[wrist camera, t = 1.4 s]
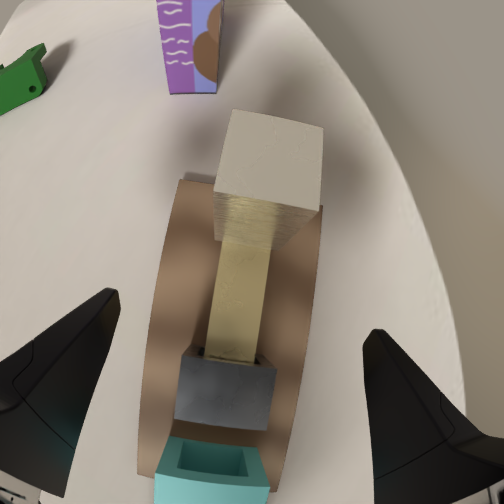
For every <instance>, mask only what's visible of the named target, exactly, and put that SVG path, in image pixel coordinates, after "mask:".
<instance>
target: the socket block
mask: <svg viewBox="0 0 504 504" xmlns="http://www.w3.org/2000/svg"><path fill="white" fill-rule="evenodd" d="M269 490H270V485H269V482H268V479H267V476H266V473H265V470H264V467H263V464H262V461H261V458H260V455H259V452H258V449H257V447H244V446H233V445H224V444H216V443H208V442H202V441H195V440H189V439H184V438H178V437H173V436H169V437H168V440H167V442H166V445H165V448H164V450H163V453H162V456H161V458H160V461H159V464H158V466H157V469H156V472H155V486H154V504H266V502H267V498H268V494H269Z"/></svg>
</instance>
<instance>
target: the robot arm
mask: <svg viewBox="0 0 504 504" xmlns="http://www.w3.org/2000/svg"><path fill="white" fill-rule="evenodd" d="M120 310H121V307H120V300H119V294H118V291H117V290H116V289H112V288H105V289H103V290H102V291H100V292H99V293H97V294H96V295H94V296H93V297H91V298H90V299H88V300H87V301H85V302H84V303H83V304H81V305H80V306H78V307H77V308H75V309H74V310H73V311H71V312H70V313H68V314H67V315H65V316H64V317H63V318H61V319H60V320H58V321H57V322H56V323H54V324H53V325H52V326H50V327H49V328H47V329H46V330H45V331H43V332H42V333H41V334H39V335H38V336H37V337H35V338H34V339H33V340H31V341H30V342H28V343H27V344H26V345H24V346H23V347H22V348H20V349H19V350H17V351H16V352H15V353H13V354H12V355H10V356H9V357H7V358H5V359H4V360H2V361H1V362H0V504H41V503H40V501H39V498H40V493H41V490H43V491H45V492H48V493H51V494H53V495H56V496H58V497H61V498H64V495H65V490H66V486H67V481H68V477H69V473H70V469H71V465H72V461H73V458H74V454H75V450H76V446H77V443H78V439H79V436H80V433H81V429H82V426H83V423H84V420H85V417H86V414H87V411H88V408H89V405H90V402H91V399H92V396H93V393H94V390H95V387H96V385H97V382H98V379H99V376H100V374H101V371H102V368H103V366H104V363H105V361H106V358H107V355H108V353H109V350H110V346H111V343H112V339H113V336H114V332H115V328H116V325H117V322H118V318H119V315H120ZM363 367H364V385H365V393H366V401H367V409H368V417H369V427H370V437H371V448H372V461H373V477H374V504H504V438H498V437H492V436H488V435H486V434H484V433H482V432H481V431H479V430H478V429H477V428H476V427H475V426H474V425H473V424H472V423H471V422H470V421H469V420H468V419H467V418H466V417H465V416H464V415H463V414H462V413H461V412H460V411H459V410H458V409H457V408H456V407H455V406H454V405H453V404H452V403H451V402H450V401H449V400H448V398H447V397H446V396H445V395H444V394H443V393H442V392H440V390H439V388H438V387H437V386H436V385H435V384H434V383H433V382H432V381H431V380H430V378H429V377H428V376H427V375H426V374H425V373H424V372H423V371H422V370H421V369H420V367H419V366H418V365H417V364H416V363H415V362H414V361H413V360H412V359H411V358H410V357H409V356H408V354H407V353H406V352H405V351H404V350H403V349H402V348H401V347H400V346H399V345H398V344H397V343H396V342H395V341H394V340H393V339H392V337H391V336H390V335H389V334H388V333H387V332H386V331H385V330H383V329H373V330H372V331H371V333H370V334H369V336H368V337H367V339H366V340H365V342H364V344H363Z"/></svg>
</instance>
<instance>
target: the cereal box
mask: <svg viewBox="0 0 504 504" xmlns="http://www.w3.org/2000/svg"><path fill="white" fill-rule="evenodd" d="M156 1H157V10H158V18H159V26H160V34H161V41H162V48H163V55H164V62H165V68H166V74H167V81H168V87H169V93H170V95H173V94H216V89H217V76H218V63H219V52H220V41H221V31H222V21H223V11H224V0H156Z"/></svg>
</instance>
